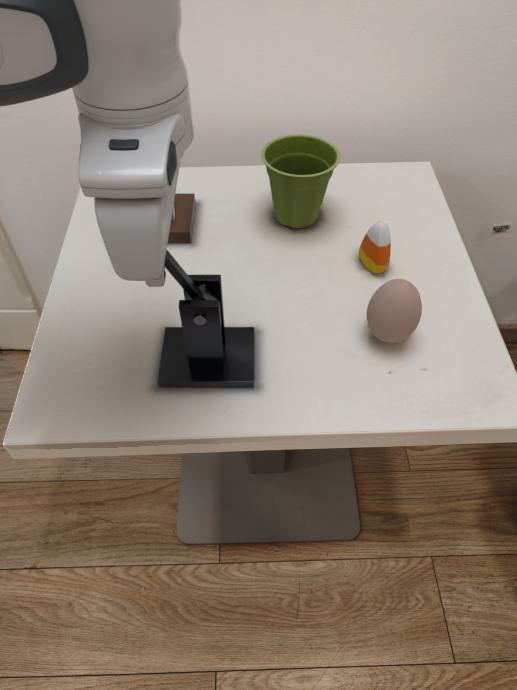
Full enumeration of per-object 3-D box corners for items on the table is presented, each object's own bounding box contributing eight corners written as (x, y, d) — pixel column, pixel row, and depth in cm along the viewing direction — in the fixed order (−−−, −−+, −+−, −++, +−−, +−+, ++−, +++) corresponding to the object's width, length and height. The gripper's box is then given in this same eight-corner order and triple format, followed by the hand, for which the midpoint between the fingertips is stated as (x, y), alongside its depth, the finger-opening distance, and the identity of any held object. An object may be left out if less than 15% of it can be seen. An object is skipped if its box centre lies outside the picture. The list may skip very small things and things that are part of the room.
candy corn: (391, 273, 78) (403, 231, 71) (374, 279, 77) (385, 237, 71) (369, 249, 81) (379, 207, 75) (353, 255, 80) (361, 213, 74)
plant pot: (346, 215, 86) (356, 153, 78) (298, 248, 81) (304, 186, 72) (293, 185, 92) (297, 125, 83) (246, 215, 86) (244, 153, 77)
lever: (132, 255, 50) (152, 247, 49) (139, 222, 53) (158, 214, 53) (197, 327, 59) (215, 321, 58) (200, 296, 62) (217, 289, 61)
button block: (115, 243, 82) (109, 222, 79) (125, 204, 88) (120, 184, 85) (191, 243, 82) (188, 222, 79) (195, 204, 88) (193, 184, 85)
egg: (421, 347, 69) (441, 296, 61) (375, 360, 67) (390, 310, 60) (397, 311, 73) (413, 259, 65) (353, 322, 72) (364, 271, 64)
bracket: (158, 387, 65) (140, 320, 55) (166, 332, 70) (151, 262, 60) (254, 387, 65) (253, 320, 55) (254, 332, 70) (254, 262, 60)
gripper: (119, 62, 48) (144, 188, 59) (71, 192, 36) (114, 323, 47) (186, 62, 49) (199, 188, 59) (163, 192, 36) (184, 323, 47)
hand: (162, 249), depth 53 cm, fingers open, 8 cm apart
